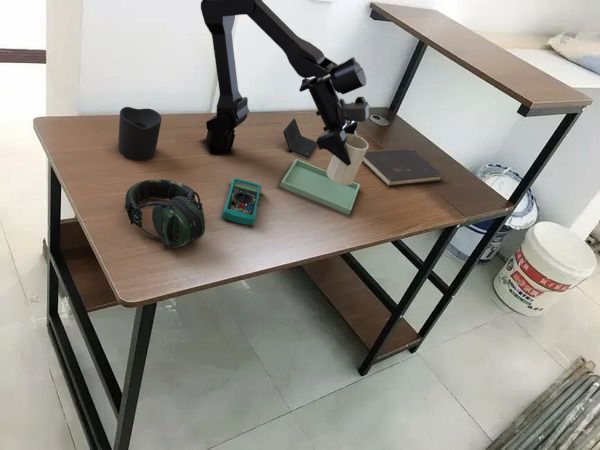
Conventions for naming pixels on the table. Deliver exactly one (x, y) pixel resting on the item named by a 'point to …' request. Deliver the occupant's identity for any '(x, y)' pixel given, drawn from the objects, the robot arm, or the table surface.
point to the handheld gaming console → (298, 140)
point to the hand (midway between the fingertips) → (353, 159)
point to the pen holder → (138, 132)
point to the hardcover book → (400, 167)
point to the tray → (319, 186)
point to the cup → (356, 153)
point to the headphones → (167, 210)
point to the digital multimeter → (242, 202)
